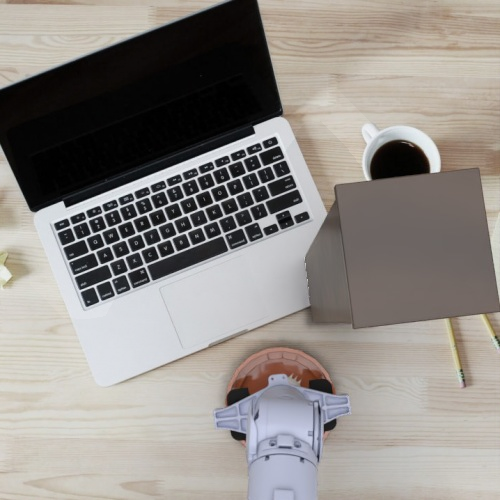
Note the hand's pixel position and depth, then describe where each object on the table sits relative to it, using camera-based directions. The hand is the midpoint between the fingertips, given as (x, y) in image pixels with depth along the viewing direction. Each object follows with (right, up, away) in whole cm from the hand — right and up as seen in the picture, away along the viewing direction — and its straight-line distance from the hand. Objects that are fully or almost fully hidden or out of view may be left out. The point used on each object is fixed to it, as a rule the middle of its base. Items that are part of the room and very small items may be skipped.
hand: (280, 402), depth 85 cm
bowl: (0, 0, +3) cm, 3 cm away
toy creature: (0, 0, +2) cm, 2 cm away
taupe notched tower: (+7, +14, +4) cm, 16 cm away
